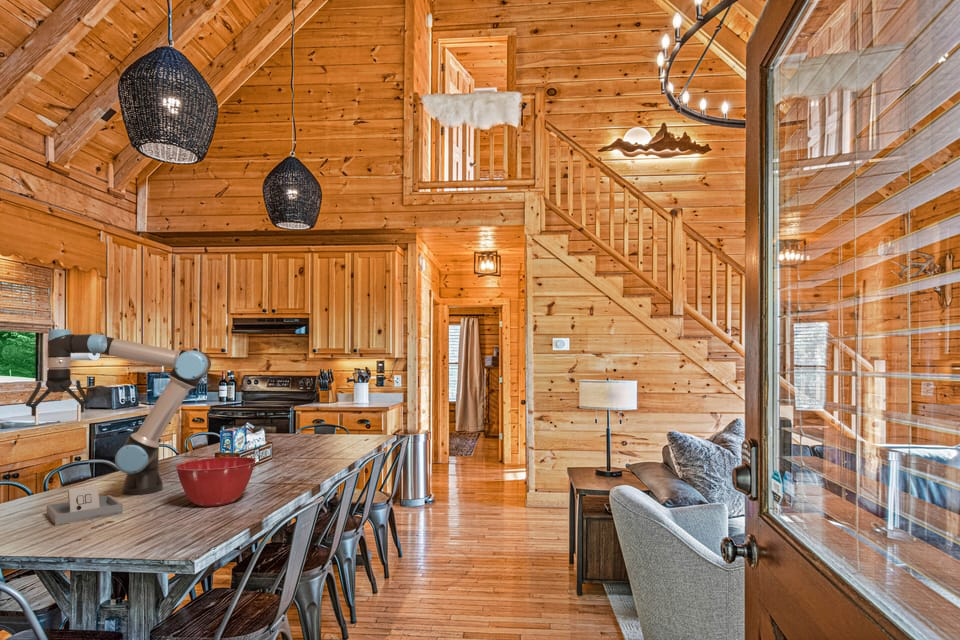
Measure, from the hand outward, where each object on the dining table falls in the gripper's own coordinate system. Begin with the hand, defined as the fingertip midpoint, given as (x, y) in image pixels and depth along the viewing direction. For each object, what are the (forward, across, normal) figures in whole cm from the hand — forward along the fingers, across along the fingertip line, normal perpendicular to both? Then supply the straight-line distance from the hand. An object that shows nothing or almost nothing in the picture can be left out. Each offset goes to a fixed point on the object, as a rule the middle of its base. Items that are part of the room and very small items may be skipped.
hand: (58, 422), depth 230 cm
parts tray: (+32, +5, -25) cm, 41 cm away
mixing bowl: (+32, +45, -44) cm, 70 cm away
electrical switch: (+31, +4, -25) cm, 40 cm away
